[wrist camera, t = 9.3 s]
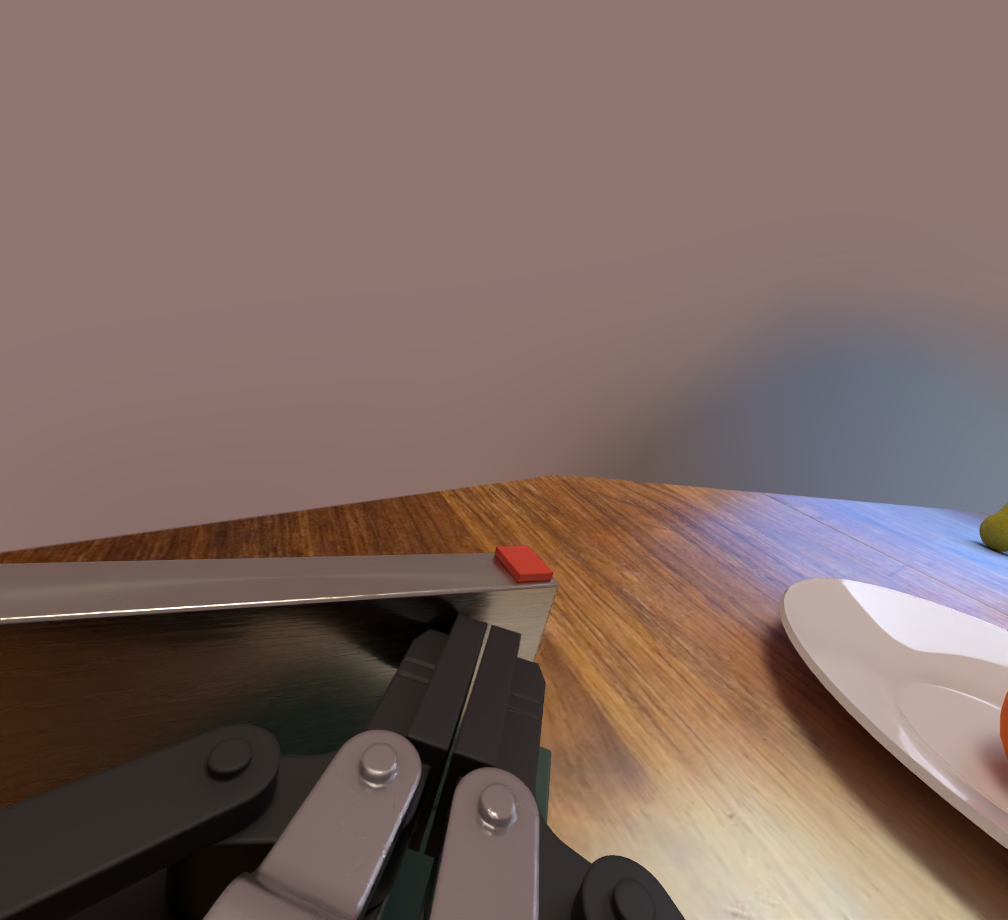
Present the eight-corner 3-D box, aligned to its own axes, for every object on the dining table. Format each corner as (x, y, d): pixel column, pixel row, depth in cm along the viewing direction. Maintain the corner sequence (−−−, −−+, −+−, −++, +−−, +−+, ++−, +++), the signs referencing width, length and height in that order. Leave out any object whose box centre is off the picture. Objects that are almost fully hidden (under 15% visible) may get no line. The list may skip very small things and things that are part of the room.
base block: (-924, 1509, 5) (-1130, 1400, 4) (199, 630, 21) (205, 567, 20) (501, 2356, 4) (623, 2447, 3) (561, 750, 20) (584, 689, 19)
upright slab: (-147, 987, 8) (-226, 619, 6) (-90, 881, 9) (-140, 550, 7) (493, 790, 14) (563, 575, 12) (471, 743, 15) (532, 543, 13)
